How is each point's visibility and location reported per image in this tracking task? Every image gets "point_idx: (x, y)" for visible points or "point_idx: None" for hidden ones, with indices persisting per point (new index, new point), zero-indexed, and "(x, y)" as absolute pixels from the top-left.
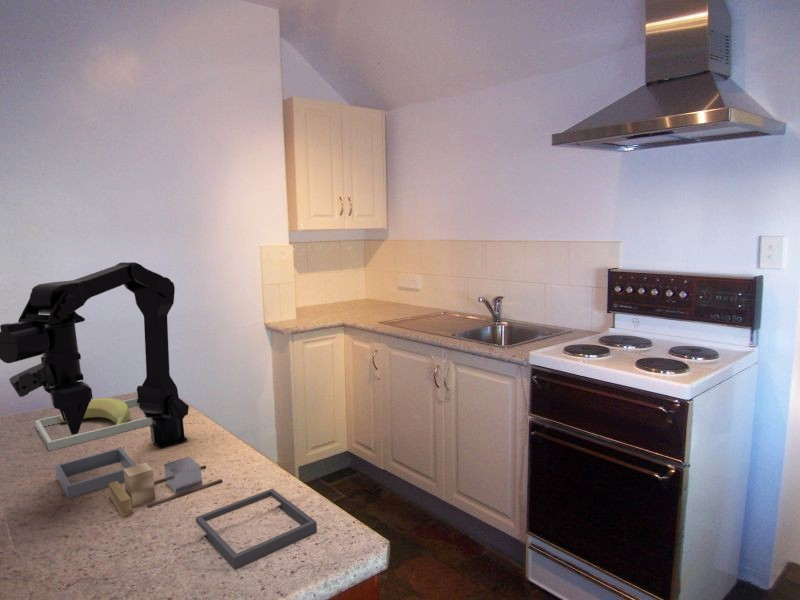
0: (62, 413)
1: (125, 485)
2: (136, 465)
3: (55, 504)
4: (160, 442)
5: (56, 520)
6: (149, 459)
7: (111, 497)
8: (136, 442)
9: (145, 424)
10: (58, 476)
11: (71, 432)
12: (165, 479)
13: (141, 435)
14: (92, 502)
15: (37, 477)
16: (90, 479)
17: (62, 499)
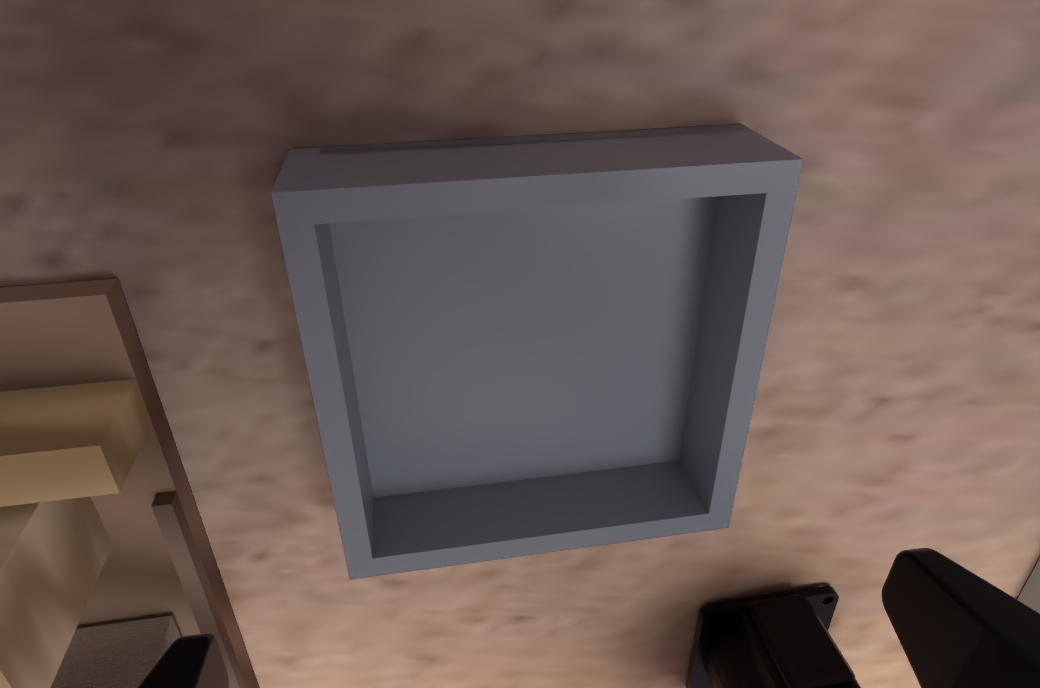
0: (993, 650)
1: (19, 521)
2: (6, 683)
3: (351, 67)
4: (738, 623)
5: (52, 38)
6: (614, 557)
7: (74, 399)
8: (881, 530)
9: (1037, 583)
10: (653, 153)
11: (149, 675)
12: (165, 633)
13: (942, 553)
14: (229, 276)
15: (924, 13)
16: (311, 348)
17: (406, 120)
